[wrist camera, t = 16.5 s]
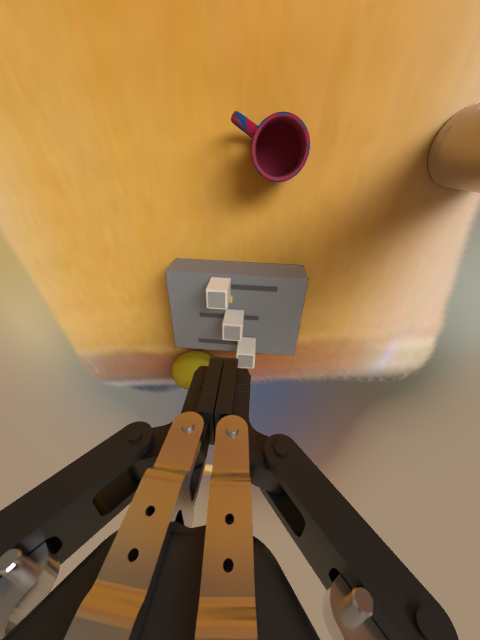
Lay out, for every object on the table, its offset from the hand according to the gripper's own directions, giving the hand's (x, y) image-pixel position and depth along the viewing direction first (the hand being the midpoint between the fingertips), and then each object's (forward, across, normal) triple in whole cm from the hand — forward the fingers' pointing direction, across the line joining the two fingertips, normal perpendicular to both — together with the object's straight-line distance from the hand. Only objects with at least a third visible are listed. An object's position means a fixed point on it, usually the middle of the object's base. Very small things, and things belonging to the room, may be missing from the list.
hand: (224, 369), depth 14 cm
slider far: (+26, -1, +18) cm, 32 cm away
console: (+32, +2, +12) cm, 34 cm away
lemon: (+32, +10, +27) cm, 43 cm away
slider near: (+26, +4, +7) cm, 27 cm away
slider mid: (+26, +2, +12) cm, 29 cm away
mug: (+32, -2, -12) cm, 34 cm away
